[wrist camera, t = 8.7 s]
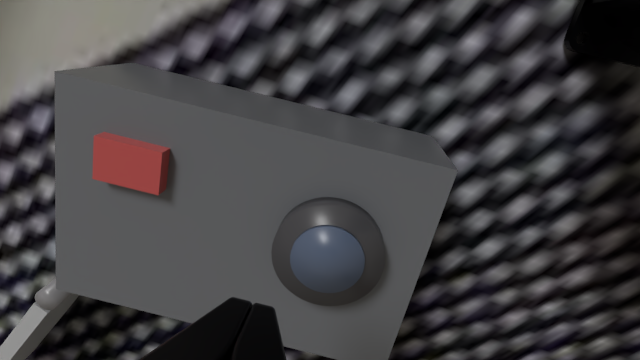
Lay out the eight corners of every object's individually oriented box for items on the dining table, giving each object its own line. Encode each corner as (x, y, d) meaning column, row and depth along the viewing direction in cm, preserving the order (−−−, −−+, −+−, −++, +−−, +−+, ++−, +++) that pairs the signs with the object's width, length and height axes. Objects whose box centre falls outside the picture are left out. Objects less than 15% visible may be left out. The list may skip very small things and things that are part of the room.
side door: (35, 352, 24) (-36, 421, 20) (14, 337, 24) (-63, 404, 20) (123, 246, 21) (62, 300, 17) (100, 228, 21) (31, 278, 17)
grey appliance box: (432, 136, 18) (465, 180, 12) (377, 300, 21) (384, 394, 16) (133, 62, 18) (31, 73, 13) (122, 236, 21) (37, 307, 16)
